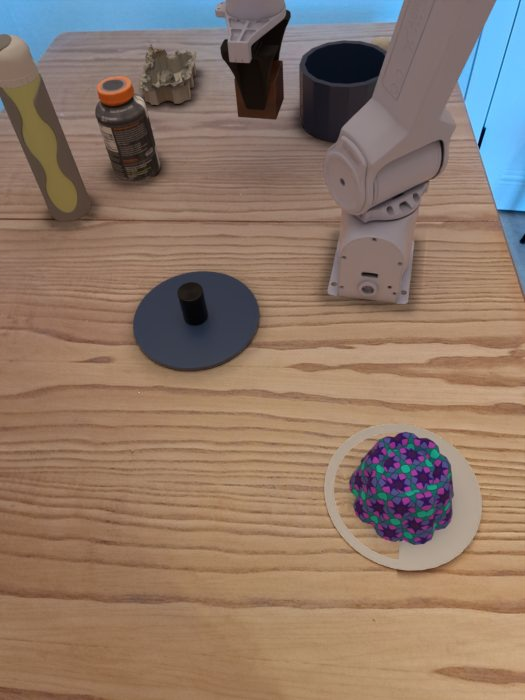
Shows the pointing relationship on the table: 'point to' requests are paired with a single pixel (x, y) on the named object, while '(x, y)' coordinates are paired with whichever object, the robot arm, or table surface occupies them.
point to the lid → (196, 321)
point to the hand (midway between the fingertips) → (261, 95)
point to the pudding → (410, 496)
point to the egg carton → (167, 76)
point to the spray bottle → (40, 132)
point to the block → (273, 97)
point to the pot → (336, 84)
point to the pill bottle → (126, 130)
